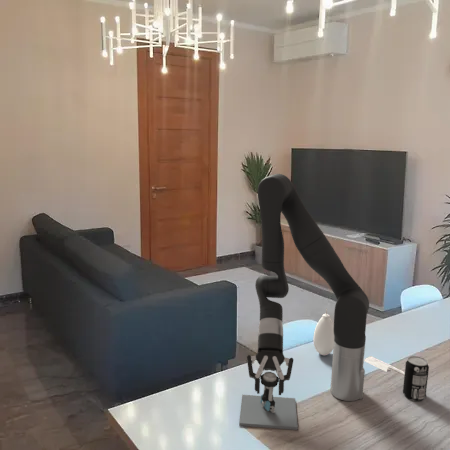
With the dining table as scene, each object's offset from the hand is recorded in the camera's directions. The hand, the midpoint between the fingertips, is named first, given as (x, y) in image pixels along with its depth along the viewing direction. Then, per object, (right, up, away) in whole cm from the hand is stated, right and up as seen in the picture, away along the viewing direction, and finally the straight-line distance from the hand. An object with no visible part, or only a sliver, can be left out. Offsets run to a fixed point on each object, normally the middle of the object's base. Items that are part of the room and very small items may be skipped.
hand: (269, 393), depth 132 cm
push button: (0, -5, +3) cm, 6 cm away
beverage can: (+46, -6, +13) cm, 48 cm away
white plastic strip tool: (+43, -2, +30) cm, 52 cm away
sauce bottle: (+23, 0, +38) cm, 45 cm away
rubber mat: (0, -7, +3) cm, 7 cm away
